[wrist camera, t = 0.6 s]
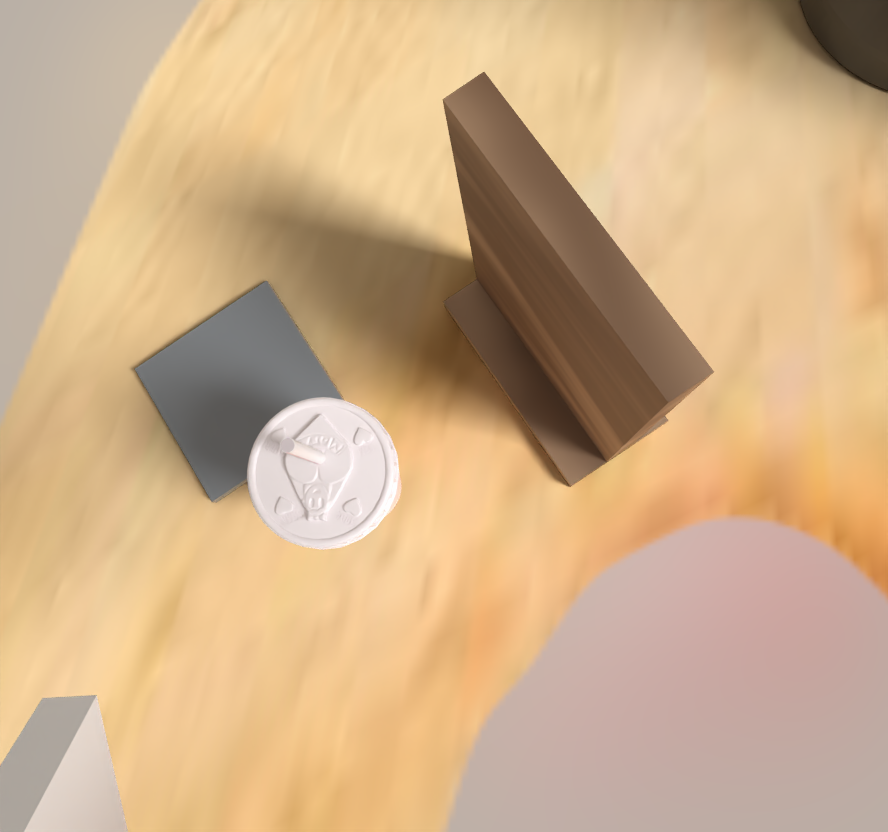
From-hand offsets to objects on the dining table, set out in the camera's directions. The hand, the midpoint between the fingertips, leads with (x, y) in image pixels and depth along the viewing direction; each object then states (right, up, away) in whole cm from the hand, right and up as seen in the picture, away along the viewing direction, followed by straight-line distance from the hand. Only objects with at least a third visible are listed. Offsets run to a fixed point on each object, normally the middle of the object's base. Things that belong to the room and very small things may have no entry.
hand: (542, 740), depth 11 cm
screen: (+4, +8, +29) cm, 30 cm away
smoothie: (-6, +1, +29) cm, 30 cm away
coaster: (-13, +6, +31) cm, 34 cm away
